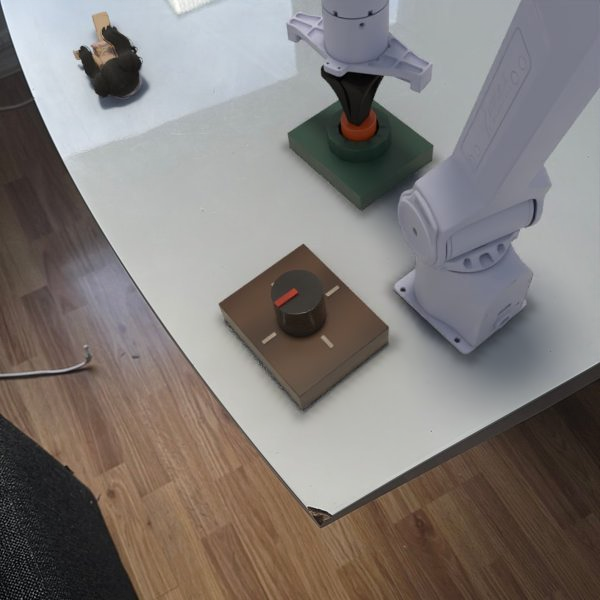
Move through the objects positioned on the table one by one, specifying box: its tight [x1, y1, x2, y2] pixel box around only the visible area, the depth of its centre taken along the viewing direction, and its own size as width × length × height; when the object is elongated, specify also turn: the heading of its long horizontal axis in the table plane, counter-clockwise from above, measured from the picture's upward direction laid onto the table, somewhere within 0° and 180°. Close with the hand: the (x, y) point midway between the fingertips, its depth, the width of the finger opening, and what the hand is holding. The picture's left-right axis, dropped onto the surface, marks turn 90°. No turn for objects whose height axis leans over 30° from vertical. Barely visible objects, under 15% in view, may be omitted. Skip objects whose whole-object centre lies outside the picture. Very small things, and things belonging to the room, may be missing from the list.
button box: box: [287, 99, 434, 211], centre depth 70 cm, size 12×10×4 cm
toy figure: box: [72, 11, 143, 100], centre depth 80 cm, size 7×6×15 cm
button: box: [341, 109, 376, 142], centre depth 68 cm, size 4×4×2 cm
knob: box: [271, 270, 326, 337], centre depth 57 cm, size 4×4×4 cm
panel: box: [218, 243, 390, 410], centre depth 60 cm, size 12×10×3 cm
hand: (358, 118), depth 67 cm, fingers closed, pressing on button
